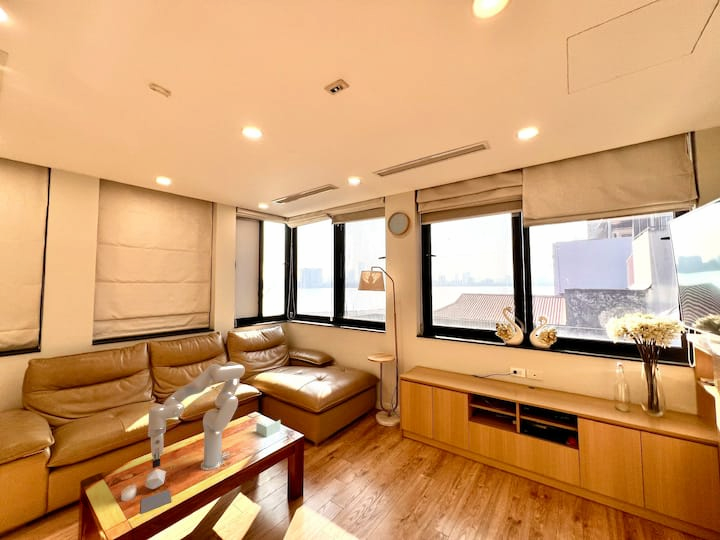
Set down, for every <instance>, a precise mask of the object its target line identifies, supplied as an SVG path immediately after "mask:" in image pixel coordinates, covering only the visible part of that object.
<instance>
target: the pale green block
mask: <svg viewBox="0 0 720 540" xmlns="http://www.w3.org/2000/svg"><path fill="white" fill-rule="evenodd" d="M255 424H256V425H255V426H256V427H255V429H256V430H255V431H256V433H257V434H259V435H261V436H263V437H265V438H269V437H270V436H272V435H274V434H276V433H278V432H280V431H281V419H278V420H277V421H274V422H273V423H271V424H268V425H265V424H264V423H261V422H259V421H256V423H255Z"/></svg>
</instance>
